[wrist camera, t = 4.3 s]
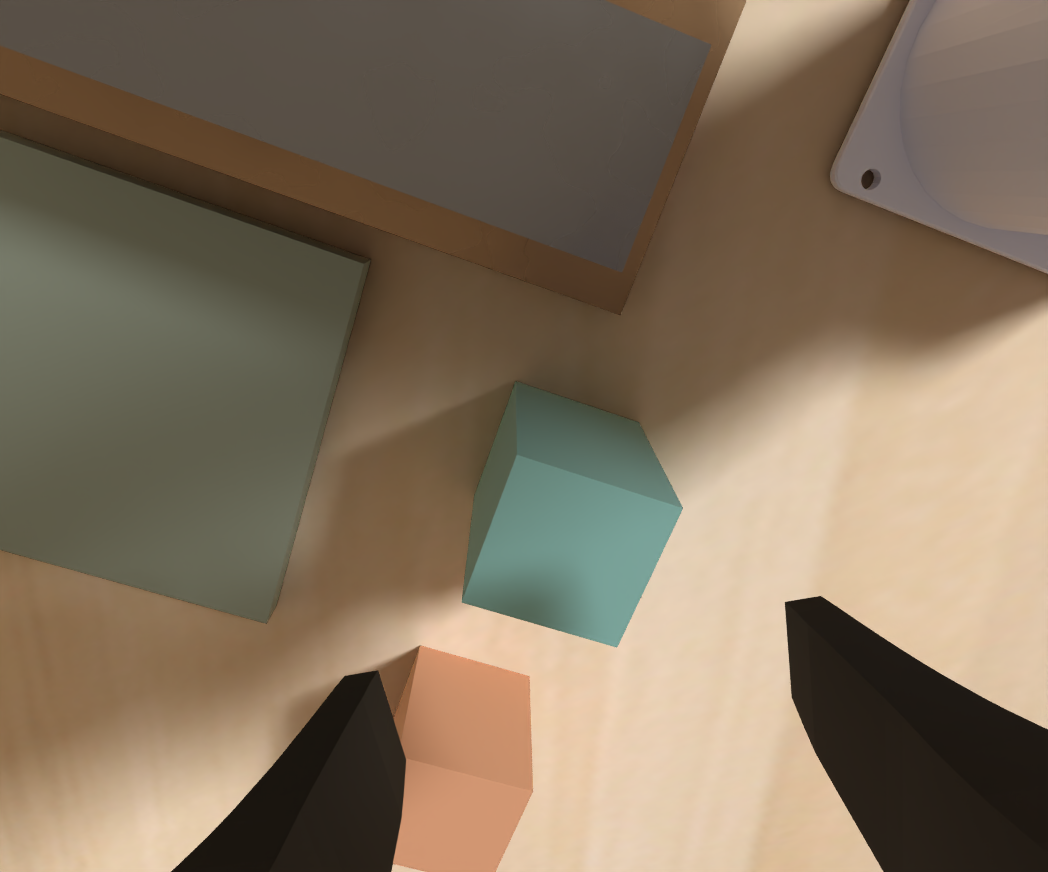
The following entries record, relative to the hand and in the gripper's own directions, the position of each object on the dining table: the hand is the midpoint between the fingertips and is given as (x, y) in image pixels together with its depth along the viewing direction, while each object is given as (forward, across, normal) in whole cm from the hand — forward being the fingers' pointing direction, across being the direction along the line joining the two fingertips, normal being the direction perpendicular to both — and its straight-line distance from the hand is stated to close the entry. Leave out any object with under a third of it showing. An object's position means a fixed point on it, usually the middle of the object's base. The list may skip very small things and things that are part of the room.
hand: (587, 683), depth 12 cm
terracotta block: (+10, +5, +9) cm, 14 cm away
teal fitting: (+10, 0, 0) cm, 10 cm away
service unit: (+10, +3, -12) cm, 16 cm away
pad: (+10, +12, -5) cm, 17 cm away
